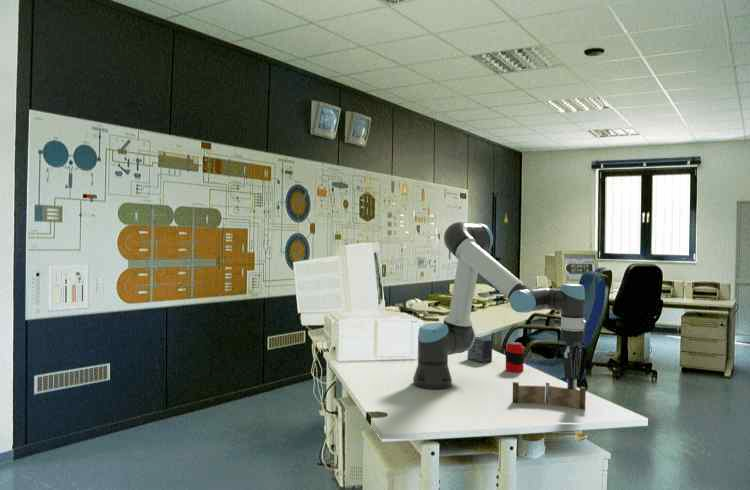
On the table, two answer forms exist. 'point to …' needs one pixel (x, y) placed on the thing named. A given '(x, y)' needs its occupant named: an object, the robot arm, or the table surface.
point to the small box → (481, 350)
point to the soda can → (514, 357)
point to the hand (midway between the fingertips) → (571, 397)
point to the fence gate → (565, 396)
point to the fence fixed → (528, 393)
